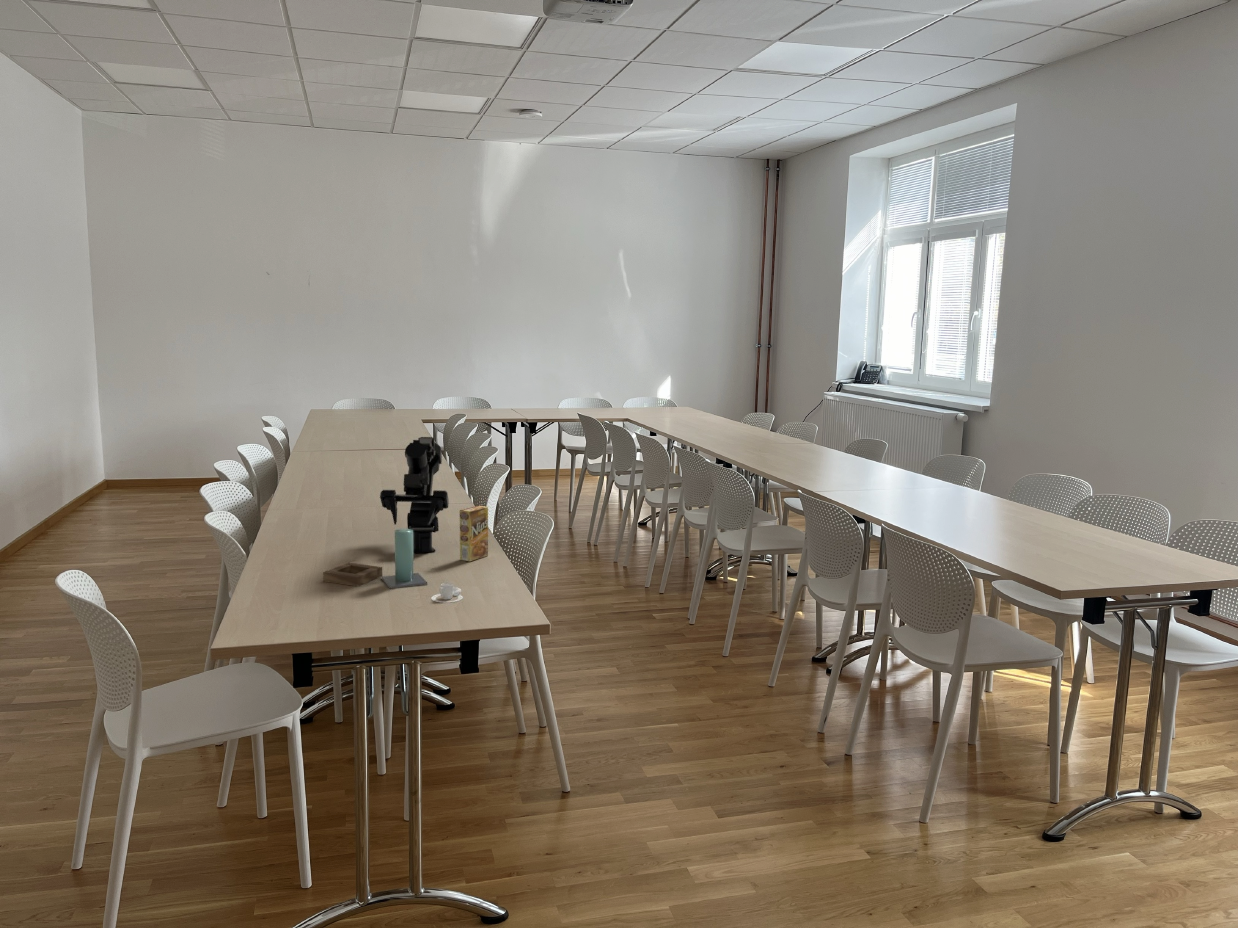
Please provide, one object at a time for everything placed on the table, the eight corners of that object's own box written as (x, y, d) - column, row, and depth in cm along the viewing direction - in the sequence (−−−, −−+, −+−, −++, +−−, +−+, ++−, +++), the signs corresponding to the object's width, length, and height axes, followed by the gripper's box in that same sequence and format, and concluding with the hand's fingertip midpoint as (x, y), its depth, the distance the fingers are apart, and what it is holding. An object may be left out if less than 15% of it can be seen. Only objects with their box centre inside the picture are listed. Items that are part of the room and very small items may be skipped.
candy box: (470, 562, 256) (470, 511, 254) (458, 560, 258) (459, 509, 256) (488, 555, 264) (489, 506, 262) (477, 553, 266) (477, 504, 264)
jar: (391, 579, 235) (391, 530, 233) (406, 575, 238) (405, 527, 236) (402, 582, 232) (402, 533, 230) (417, 579, 235) (416, 530, 233)
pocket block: (349, 571, 244) (349, 562, 243) (382, 575, 240) (382, 566, 239) (323, 581, 233) (323, 572, 233) (357, 586, 230) (357, 577, 229)
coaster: (381, 578, 237) (381, 576, 237) (418, 574, 242) (418, 572, 242) (389, 588, 228) (389, 586, 228) (427, 584, 233) (427, 582, 233)
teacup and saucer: (455, 592, 228) (455, 577, 227) (471, 600, 222) (471, 584, 222) (425, 598, 222) (425, 583, 222) (441, 606, 216) (441, 590, 216)
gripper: (380, 461, 246) (373, 507, 236) (447, 462, 247) (442, 508, 238) (386, 484, 254) (379, 529, 245) (450, 485, 256) (446, 530, 247)
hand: (411, 523), depth 243 cm, fingers open, 9 cm apart
